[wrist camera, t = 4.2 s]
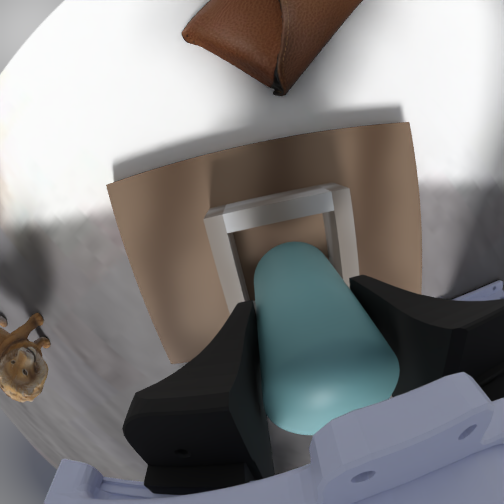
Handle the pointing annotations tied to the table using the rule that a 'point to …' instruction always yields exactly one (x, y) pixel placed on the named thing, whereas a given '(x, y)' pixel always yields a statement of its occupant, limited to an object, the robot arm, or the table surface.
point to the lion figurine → (22, 361)
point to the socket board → (267, 222)
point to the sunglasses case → (268, 35)
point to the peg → (315, 342)
